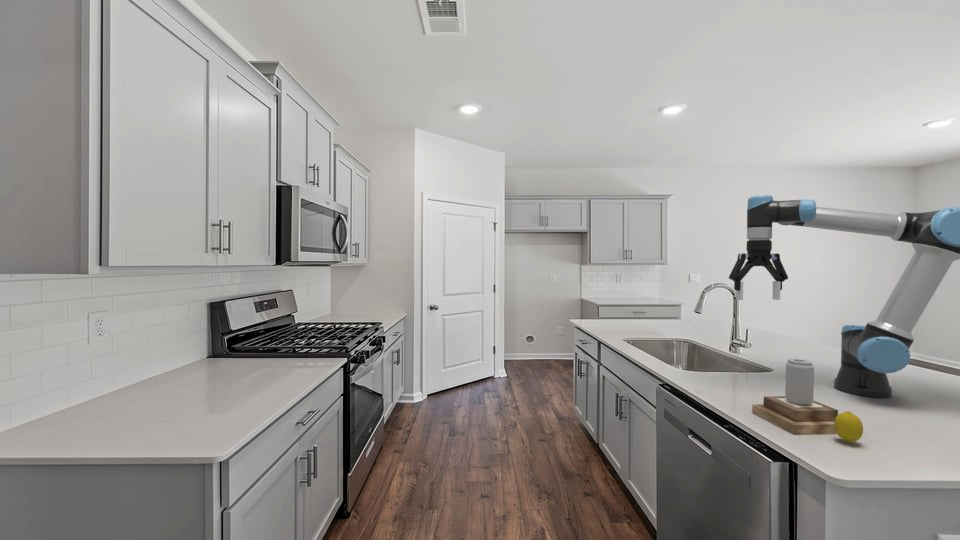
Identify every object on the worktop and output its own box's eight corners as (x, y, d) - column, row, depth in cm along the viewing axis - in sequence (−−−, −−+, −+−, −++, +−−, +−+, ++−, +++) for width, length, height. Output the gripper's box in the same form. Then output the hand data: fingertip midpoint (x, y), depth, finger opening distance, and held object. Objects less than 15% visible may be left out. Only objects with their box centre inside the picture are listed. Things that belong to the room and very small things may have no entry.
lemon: (828, 438, 111) (828, 407, 111) (847, 437, 111) (848, 407, 111) (848, 448, 105) (849, 415, 105) (868, 447, 106) (869, 415, 106)
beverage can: (807, 400, 124) (808, 358, 123) (817, 407, 118) (818, 364, 117) (781, 397, 126) (782, 357, 125) (789, 404, 120) (790, 362, 119)
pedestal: (802, 411, 130) (803, 392, 130) (851, 433, 114) (851, 412, 114) (752, 412, 129) (752, 393, 129) (794, 434, 113) (794, 413, 113)
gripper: (784, 240, 156) (783, 298, 157) (718, 240, 155) (717, 298, 155) (801, 239, 149) (799, 300, 149) (731, 239, 147) (730, 301, 148)
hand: (757, 299), depth 152 cm, fingers open, 13 cm apart
